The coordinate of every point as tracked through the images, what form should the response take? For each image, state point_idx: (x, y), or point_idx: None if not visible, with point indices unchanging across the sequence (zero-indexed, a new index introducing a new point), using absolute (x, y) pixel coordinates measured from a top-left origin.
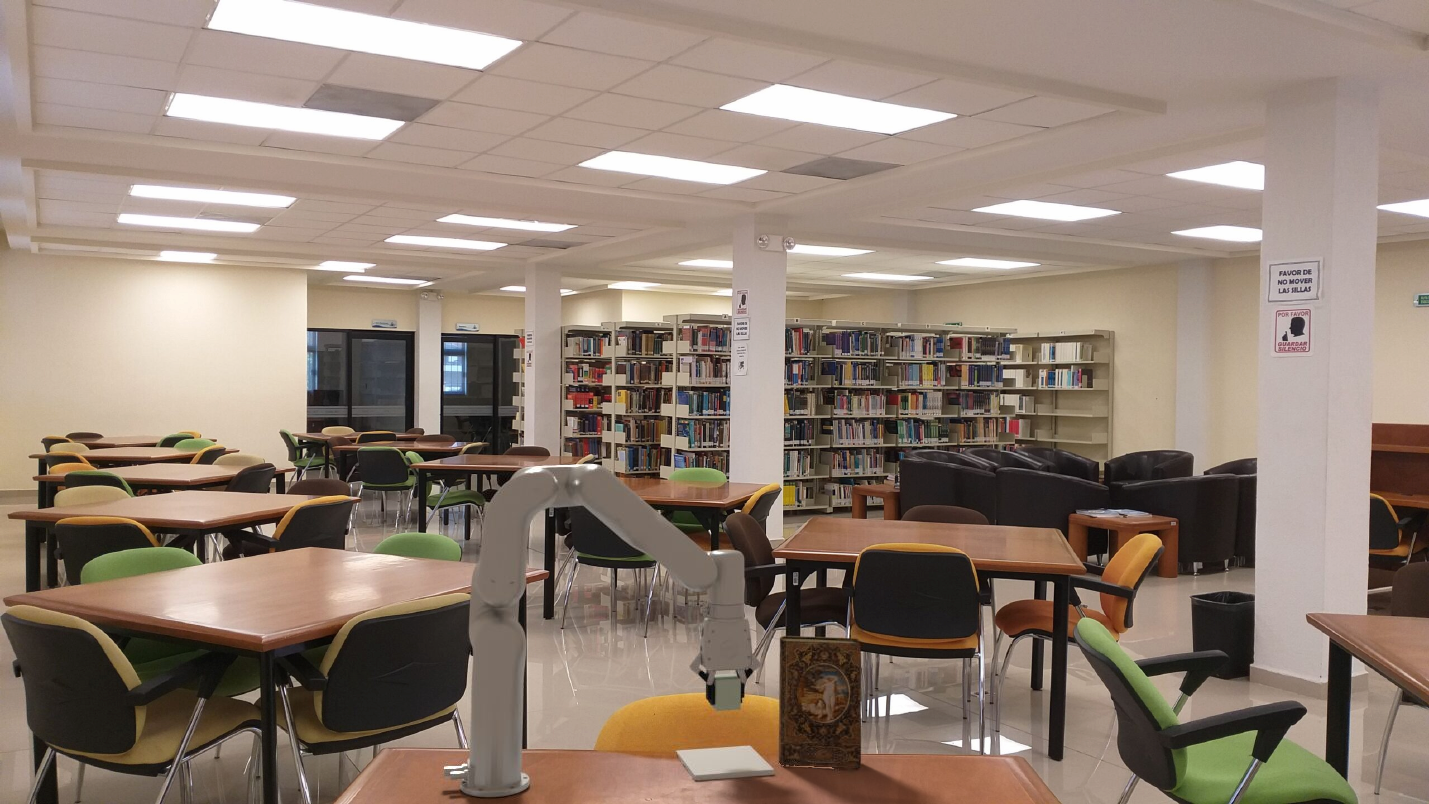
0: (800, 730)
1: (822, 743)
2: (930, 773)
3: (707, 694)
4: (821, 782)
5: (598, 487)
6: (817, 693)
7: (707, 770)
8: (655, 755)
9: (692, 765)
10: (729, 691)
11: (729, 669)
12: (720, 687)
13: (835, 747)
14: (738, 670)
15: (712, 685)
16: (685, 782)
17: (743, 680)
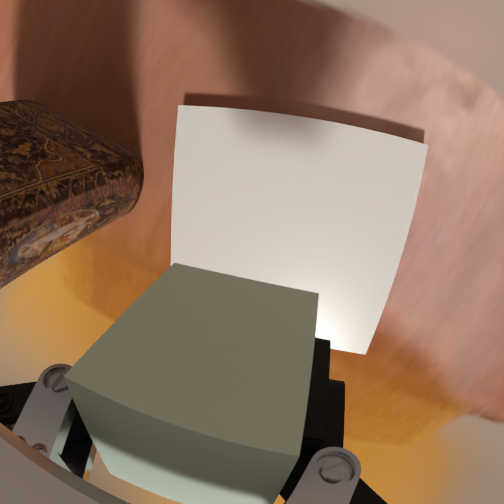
0: (40, 153)
1: (31, 128)
2: None
3: (342, 406)
4: (110, 33)
5: None
6: None
7: (374, 167)
8: (404, 362)
9: (394, 229)
10: (199, 346)
11: (110, 502)
12: (269, 393)
13: (21, 117)
14: (49, 451)
15: (322, 437)
16: (449, 144)
17: (63, 380)
